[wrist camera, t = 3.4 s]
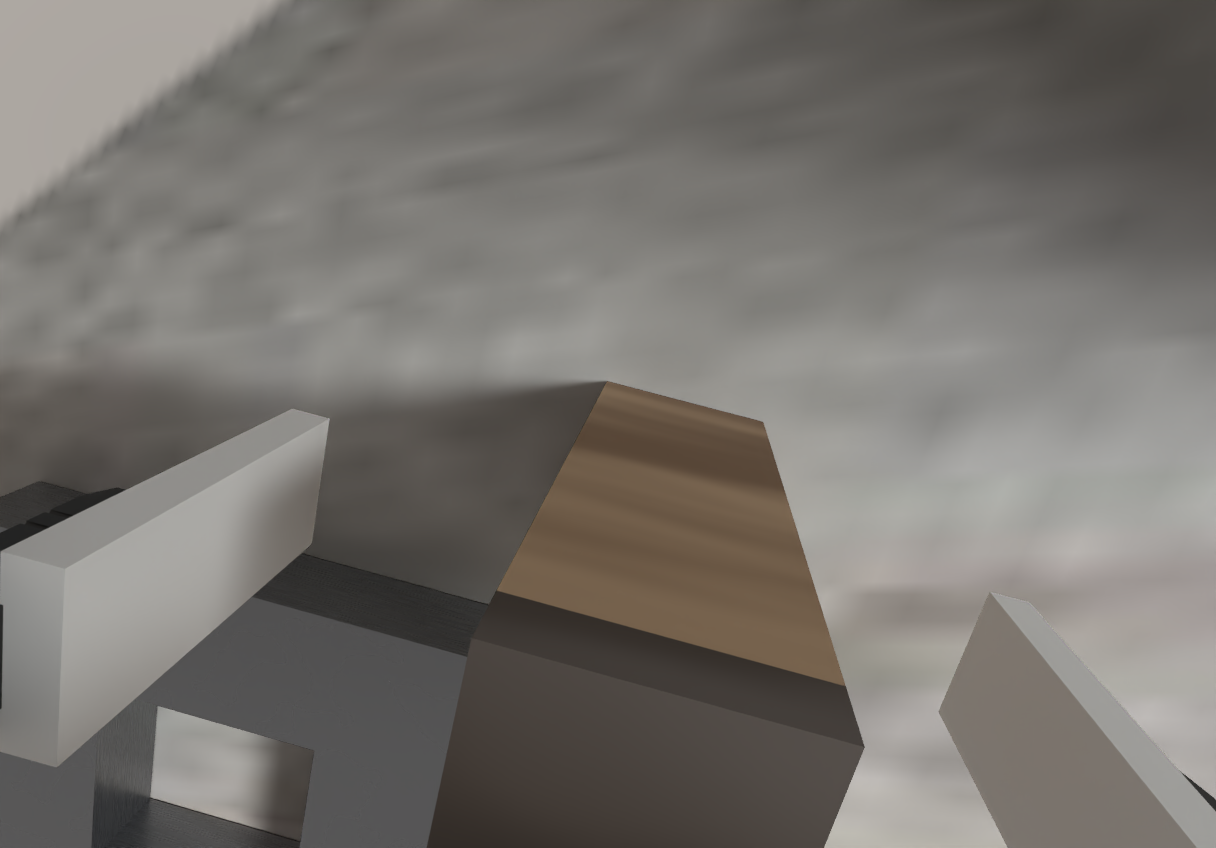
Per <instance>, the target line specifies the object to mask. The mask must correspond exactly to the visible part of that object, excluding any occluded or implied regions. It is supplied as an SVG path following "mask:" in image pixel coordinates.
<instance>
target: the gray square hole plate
mask: <svg viewBox="0 0 1216 848" xmlns="http://www.w3.org/2000/svg"><path fill="white" fill-rule="evenodd" d="M82 495H86V494H83V493H80V492H76V491H72V490H69V489H65V488H61V487H58V486H54V485H51V484H47V483H43V482H40V481H39V482H36V483H34V484H31V485H29V486H26V487H24V488H22V489H19V490H17V491H14V492H12V493H9V494H7V495H5V496H2V497H0V533H1V532H3V531H5V530H7V529H9V528H12V527H14V526H16V525H18V524H20V523H21V524H24V525H25V523H26V521H27V520H29V519H31V518H33V517H35V516H38V515H40V514H42V513H44V512H47V513H50V511H51V509H53V508H55V507H57V506H59V505H61V504H64V503H66V502H68V501H70V500H72V499H74V498H77V497H79V496H82ZM488 606H489V605H486V604H482V603H479V602H475V601H472V600H468V599H464V598H461V597H457V596H453V595H450V594H446V593H443V592H439V591H435V590H432V589H428V588H424V587H421V586H417V585H414V584H410V583H406V582H403V581H399V580H395V579H392V578H388V577H384V576H381V575H377V574H374V573H370V572H366V571H363V570H359V569H355V568H352V567H348V566H345V565H341V564H337V563H334V562H330V561H326V560H323V559H319V558H316V557H312V556H308V555H305V554H300V555H299V556H297V557H296V558H295V559H294V560H293V561H292V562H291V563H289V564H288V565H287V566H286V567H285V568H284V569H283V570H281V571H280V572H279V573H278V574H277V575H276V576H275V577H273V578H272V579H271V580H270V581H269V582H268V583H267V584H266V585H264V586H263V587H262V588H261V589H260V590H259V591H258V592H256V593H255V594H254V595H253V596H252V597H251V598H250V599H248V600H247V601H246V602H245V603H244V604H243V605H242V606H240V607H239V608H238V609H237V610H236V611H235V612H234V613H232V614H231V615H230V616H229V617H228V618H227V619H226V620H224V621H223V622H222V623H221V624H220V625H219V626H218V627H216V628H215V629H214V630H213V631H212V632H211V633H210V634H208V635H207V636H206V637H205V638H204V639H203V640H202V641H200V642H199V643H198V644H197V645H196V646H195V647H194V648H193V649H191V650H190V651H189V652H188V653H187V654H186V655H185V656H183V657H182V658H181V659H180V660H179V661H178V662H177V663H175V664H174V665H173V666H172V667H171V668H170V669H169V670H167V671H166V672H165V673H164V674H163V675H162V676H161V677H159V678H158V679H157V680H156V681H155V682H154V683H153V684H151V685H150V686H149V687H148V688H147V689H146V690H145V691H143V692H142V693H141V694H140V695H139V696H138V697H137V698H135V699H134V700H133V701H132V702H131V703H130V704H129V705H127V706H126V707H125V708H124V709H123V710H122V711H121V712H120V713H118V714H117V715H116V716H115V717H114V718H113V719H112V720H110V721H109V722H108V723H107V724H106V725H105V726H104V727H102V728H101V729H100V730H99V731H98V732H97V733H96V734H94V735H93V736H92V737H91V738H90V739H89V740H88V741H86V742H85V743H84V744H83V745H82V746H81V747H80V748H78V749H77V750H76V751H75V752H74V753H73V754H72V755H70V756H69V757H68V758H67V759H66V760H65V761H64V762H62V763H61V764H60V765H59V766H58V767H57V768H56V767H53V766H49V765H46V764H42V763H38V762H35V761H31V760H28V759H24V758H21V757H17V756H13V755H10V754H6V753H3V752H0V848H427V844H428V839H429V834H430V830H431V825H432V820H433V815H434V811H435V806H436V801H437V797H438V792H439V787H440V783H441V778H442V773H443V769H444V764H445V759H446V755H447V750H448V745H449V741H450V736H451V731H452V727H453V722H454V717H455V713H456V708H457V703H458V698H459V694H460V689H461V684H462V680H463V675H464V670H465V666H466V661H467V656H468V652H469V647H470V642H471V638H472V636H473V634H474V632H475V630H476V628H477V627H478V625H479V623H480V621H481V619H482V617H483V615H484V613H485V611H486V609H487V608H488ZM157 706H161V707H164V708H168V709H171V710H175V711H178V712H181V713H185V714H188V715H192V716H195V717H199V718H202V719H206V720H209V721H213V722H216V723H220V724H223V725H227V726H230V727H234V728H237V729H241V730H244V731H248V732H251V733H255V734H258V735H262V736H265V737H269V738H272V739H276V740H279V741H283V742H286V743H290V744H293V745H297V746H300V747H304V748H307V749H311V750H314V756H313V763H312V769H311V776H310V782H309V789H308V795H307V802H306V809H305V815H304V822H303V828H302V835H301V841H300V842H298V841H294V840H291V839H287V838H284V837H281V836H277V835H274V834H270V833H267V832H263V831H260V830H257V829H253V828H250V827H246V826H243V825H240V824H236V823H233V822H229V821H226V820H222V819H219V818H216V817H212V816H209V815H205V814H202V813H198V812H195V811H192V810H188V809H185V808H181V807H178V806H174V805H171V804H168V803H164V802H161V801H157V800H154V799H150V792H151V779H152V766H153V753H154V741H155V728H156V715H157Z"/></svg>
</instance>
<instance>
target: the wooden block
mask: <svg viewBox="0 0 1216 848" xmlns="http://www.w3.org/2000/svg"><path fill="white" fill-rule="evenodd" d="M864 748H865V747H864V744H863V740H862V737H861V734H860V731H859V728H858V724H857V721H856V718H855V715H854V712H853V708H852V705H851V702H850V699H849V696H848V692H847V689H846V686H845V683H844V680H843V676H842V673H841V670H840V667H839V664H838V660H837V657H836V654H835V651H834V648H833V644H832V641H831V638H830V635H829V632H828V628H827V625H826V622H825V619H824V616H823V612H822V609H821V606H820V603H819V599H818V596H817V593H816V590H815V587H814V583H813V580H812V577H811V574H810V571H809V567H808V564H807V561H806V558H805V555H804V551H803V548H802V545H801V542H800V539H799V535H798V532H797V529H796V526H795V523H794V519H793V516H792V513H791V510H790V507H789V503H788V500H787V497H786V494H785V491H784V487H783V484H782V481H781V478H780V475H779V471H778V468H777V465H776V462H775V459H774V455H773V452H772V449H771V446H770V443H769V439H768V436H767V433H766V430H765V427H764V423H763V422H761V421H757V420H754V419H750V418H746V417H742V416H738V415H734V414H731V413H727V412H723V411H719V410H715V409H712V408H708V407H704V406H700V405H696V404H692V403H689V402H685V401H681V400H677V399H673V398H669V397H666V396H662V395H658V394H654V393H650V392H646V391H643V390H639V389H635V388H631V387H627V386H623V385H620V384H616V383H612V382H608V381H607V382H606V384H605V386H604V388H603V390H602V392H601V394H600V395H599V397H598V399H597V401H596V403H595V405H594V407H593V409H592V411H591V413H590V414H589V416H588V418H587V420H586V422H585V424H584V426H583V428H582V430H581V431H580V433H579V435H578V437H577V439H576V441H575V443H574V445H573V447H572V449H571V450H570V452H569V454H568V456H567V458H566V460H565V462H564V464H563V466H562V467H561V469H560V471H559V473H558V475H557V477H556V479H555V481H554V483H553V484H552V486H551V488H550V490H549V492H548V494H547V496H546V498H545V500H544V502H543V503H542V505H541V507H540V509H539V511H538V513H537V515H536V517H535V519H534V520H533V522H532V524H531V526H530V528H529V530H528V532H527V534H526V536H525V538H524V539H523V541H522V543H521V545H520V547H519V549H518V551H517V553H516V555H515V556H514V558H513V560H512V562H511V564H510V566H509V568H508V570H507V572H506V573H505V575H504V577H503V579H502V581H501V583H500V585H499V587H498V589H497V591H496V592H495V594H494V596H493V598H492V600H491V602H490V604H489V606H488V608H487V609H486V611H485V613H484V615H483V617H482V619H481V621H480V623H479V625H478V627H477V628H476V630H475V632H474V634H473V636H472V638H471V642H470V647H469V652H468V656H467V661H466V666H465V670H464V675H463V680H462V684H461V689H460V694H459V698H458V703H457V708H456V713H455V717H454V722H453V727H452V731H451V736H450V741H449V745H448V750H447V755H446V759H445V764H444V769H443V773H442V778H441V783H440V787H439V792H438V797H437V801H436V806H435V811H434V815H433V820H432V825H431V830H430V834H429V839H428V844H427V848H824V846H825V844H826V841H827V839H828V836H829V834H830V831H831V829H832V826H833V824H834V821H835V819H836V816H837V814H838V812H839V809H840V807H841V804H842V802H843V799H844V797H845V794H846V792H847V789H848V787H849V784H850V782H851V780H852V777H853V775H854V772H855V770H856V767H857V765H858V762H859V760H860V757H861V755H862V752H863V750H864Z"/></svg>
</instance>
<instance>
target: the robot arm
mask: <svg viewBox="0 0 1216 848" xmlns="http://www.w3.org/2000/svg"><path fill="white" fill-rule="evenodd" d="M329 420H330V418H326V417H323V416H319V415H315V414H311V413H307V412H303V411H300V410H296V409H290V410H288V411H286V412H284V413H282V414H280V415H278V416H276V417H274V418H272V419H270V420H268V421H266V422H264V423H262V424H260V425H258V426H256V427H254V428H252V429H250V430H247V431H245V432H243V433H241V434H239V435H237V436H235V437H233V438H231V439H229V440H227V441H225V442H223V443H221V444H219V445H217V446H215V447H213V448H211V449H209V450H207V451H205V452H203V453H200V454H198V455H196V456H194V457H192V458H190V459H188V460H186V461H184V462H182V463H180V464H178V465H176V466H174V467H172V468H170V469H168V470H166V471H164V472H162V473H160V474H158V475H156V476H153V477H151V478H149V479H147V480H145V481H143V482H141V483H139V484H137V485H135V486H133V487H131V488H129V489H127V490H124V489H120V488H114V489H109V490H105V491H100V492H96V493H91V494H86V495H82V496H79V497H77V498H74V499H72V500H70V501H68V502H66V503H64V504H61V505H59V506H57V507H55V508H53V509H51V511H50V513H47V512H44V513H42V514H40V515H38V516H35V517H33V518H31V519H29V520H27V521H26V523H25V525H24V524H21V523H20V524H18V525H16V526H14V527H12V528H9V529H7V530H5V531H3V532H1V533H0V752H3V753H6V754H10V755H13V756H17V757H21V758H24V759H28V760H31V761H35V762H38V763H42V764H46V765H49V766H53V767H56V768H57V767H58V766H59V765H60V764H61V763H62V762H64V761H65V760H66V759H67V758H68V757H69V756H70V755H72V754H73V753H74V752H75V751H76V750H77V749H78V748H80V747H81V746H82V745H83V744H84V743H85V742H86V741H88V740H89V739H90V738H91V737H92V736H93V735H94V734H96V733H97V732H98V731H99V730H100V729H101V728H102V727H104V726H105V725H106V724H107V723H108V722H109V721H110V720H112V719H113V718H114V717H115V716H116V715H117V714H118V713H120V712H121V711H122V710H123V709H124V708H125V707H126V706H127V705H129V704H130V703H131V702H132V701H133V700H134V699H135V698H137V697H138V696H139V695H140V694H141V693H142V692H143V691H145V690H146V689H147V688H148V687H149V686H150V685H151V684H153V683H154V682H155V681H156V680H157V679H158V678H159V677H161V676H162V675H163V674H164V673H165V672H166V671H167V670H169V669H170V668H171V667H172V666H173V665H174V664H175V663H177V662H178V661H179V660H180V659H181V658H182V657H183V656H185V655H186V654H187V653H188V652H189V651H190V650H191V649H193V648H194V647H195V646H196V645H197V644H198V643H199V642H200V641H202V640H203V639H204V638H205V637H206V636H207V635H208V634H210V633H211V632H212V631H213V630H214V629H215V628H216V627H218V626H219V625H220V624H221V623H222V622H223V621H224V620H226V619H227V618H228V617H229V616H230V615H231V614H232V613H234V612H235V611H236V610H237V609H238V608H239V607H240V606H242V605H243V604H244V603H245V602H246V601H247V600H248V599H250V598H251V597H252V596H253V595H254V594H255V593H256V592H258V591H259V590H260V589H261V588H262V587H263V586H264V585H266V584H267V583H268V582H269V581H270V580H271V579H272V578H273V577H275V576H276V575H277V574H278V573H279V572H280V571H281V570H283V569H284V568H285V567H286V566H287V565H288V564H289V563H291V562H292V561H293V560H294V559H295V558H296V557H297V556H299V555H300V554H301V553H302V552H303V551H304V550H305V549H307V548H308V547H309V546H310V545H311V544H312V540H313V533H314V526H315V519H316V512H317V505H318V497H319V490H320V483H321V476H322V469H323V462H324V455H325V448H326V441H327V434H328V427H329ZM939 714H940V716H941V717H942V719H943V721H944V723H945V725H946V727H947V729H948V731H949V733H950V735H951V737H952V739H953V741H954V743H955V745H956V747H957V749H958V751H959V753H960V755H961V757H962V759H963V761H964V763H965V765H966V767H967V768H968V770H969V772H970V774H971V776H972V778H973V780H974V782H975V784H976V786H977V788H978V790H979V792H980V794H981V796H982V798H983V800H984V802H985V804H986V806H987V808H988V810H989V812H990V814H991V816H992V818H993V819H994V821H995V823H996V825H997V827H998V829H999V831H1000V833H1001V835H1002V837H1003V839H1004V841H1005V843H1006V845H1007V847H1008V848H1216V800H1215V799H1214V798H1213V797H1212V796H1211V795H1210V794H1208V793H1207V792H1206V791H1205V790H1203V789H1202V788H1201V787H1199V786H1198V785H1197V784H1196V783H1194V782H1193V781H1192V780H1191V779H1189V778H1188V777H1187V776H1186V775H1184V774H1183V773H1182V772H1180V771H1179V770H1178V769H1177V767H1176V766H1175V765H1174V764H1173V763H1172V762H1171V761H1170V760H1169V758H1168V757H1167V756H1166V755H1165V754H1164V753H1163V752H1162V751H1161V749H1160V748H1159V747H1158V746H1157V745H1156V744H1155V743H1154V742H1153V740H1152V739H1151V738H1150V737H1149V736H1148V735H1147V734H1146V733H1145V731H1144V730H1143V729H1142V728H1141V727H1140V726H1139V725H1138V724H1137V722H1136V721H1135V720H1134V719H1133V718H1132V717H1131V716H1130V715H1129V714H1128V712H1127V711H1126V710H1125V709H1124V708H1123V707H1122V706H1121V705H1120V703H1119V702H1118V701H1117V700H1116V699H1115V698H1114V697H1113V696H1112V694H1111V693H1110V692H1109V691H1108V690H1107V689H1106V688H1105V687H1104V685H1103V684H1102V683H1101V682H1100V681H1099V680H1098V679H1097V678H1096V676H1095V675H1094V674H1093V673H1092V672H1091V671H1090V670H1089V669H1088V667H1087V666H1086V665H1085V664H1084V663H1083V662H1082V661H1081V660H1080V658H1079V657H1078V656H1077V655H1076V654H1075V653H1074V652H1073V651H1072V649H1071V648H1070V647H1069V646H1068V645H1067V644H1066V643H1065V642H1064V640H1063V639H1062V638H1061V637H1060V636H1059V635H1058V634H1057V633H1056V631H1055V630H1054V629H1053V628H1052V627H1051V626H1050V625H1049V624H1048V622H1047V621H1046V620H1045V619H1044V618H1043V617H1042V616H1041V615H1040V613H1039V612H1038V611H1037V610H1036V609H1035V608H1034V607H1033V606H1032V604H1031V603H1030V602H1027V601H1023V600H1019V599H1016V598H1012V597H1008V596H1004V595H1000V594H997V593H993V592H989V595H988V597H987V599H986V602H985V604H984V606H983V609H982V611H981V613H980V616H979V618H978V620H977V623H976V625H975V627H974V630H973V632H972V635H971V637H970V639H969V642H968V644H967V646H966V649H965V651H964V653H963V656H962V658H961V660H960V663H959V665H958V667H957V670H956V672H955V674H954V677H953V679H952V681H951V684H950V686H949V688H948V691H947V693H946V695H945V698H944V700H943V702H942V705H941V707H940V710H939Z"/></svg>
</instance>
